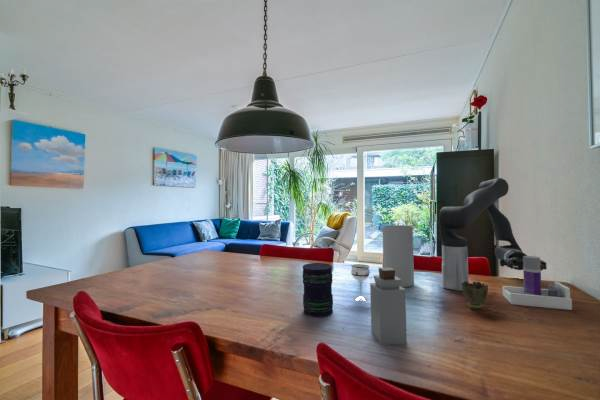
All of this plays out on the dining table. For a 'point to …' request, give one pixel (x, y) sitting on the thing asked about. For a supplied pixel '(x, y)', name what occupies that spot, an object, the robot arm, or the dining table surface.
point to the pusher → (554, 291)
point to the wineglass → (360, 277)
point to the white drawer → (539, 297)
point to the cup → (475, 294)
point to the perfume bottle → (388, 308)
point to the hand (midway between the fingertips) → (526, 266)
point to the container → (532, 275)
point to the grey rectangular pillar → (399, 252)
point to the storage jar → (317, 289)
